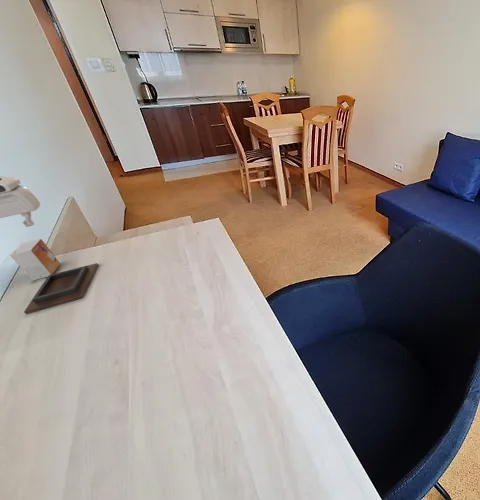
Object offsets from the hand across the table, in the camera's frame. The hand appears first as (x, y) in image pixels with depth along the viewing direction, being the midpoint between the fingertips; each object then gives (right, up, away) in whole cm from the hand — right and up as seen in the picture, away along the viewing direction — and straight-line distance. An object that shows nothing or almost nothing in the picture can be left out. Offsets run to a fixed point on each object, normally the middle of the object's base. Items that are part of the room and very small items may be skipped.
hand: (12, 229), depth 94 cm
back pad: (+15, -18, +1) cm, 24 cm away
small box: (+1, -14, +10) cm, 17 cm away
